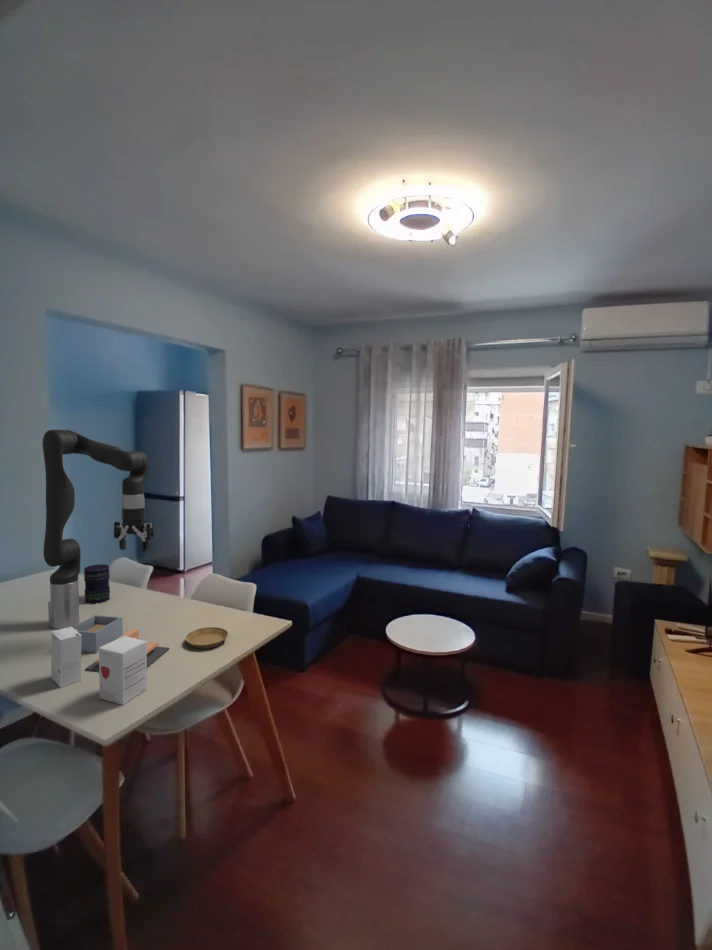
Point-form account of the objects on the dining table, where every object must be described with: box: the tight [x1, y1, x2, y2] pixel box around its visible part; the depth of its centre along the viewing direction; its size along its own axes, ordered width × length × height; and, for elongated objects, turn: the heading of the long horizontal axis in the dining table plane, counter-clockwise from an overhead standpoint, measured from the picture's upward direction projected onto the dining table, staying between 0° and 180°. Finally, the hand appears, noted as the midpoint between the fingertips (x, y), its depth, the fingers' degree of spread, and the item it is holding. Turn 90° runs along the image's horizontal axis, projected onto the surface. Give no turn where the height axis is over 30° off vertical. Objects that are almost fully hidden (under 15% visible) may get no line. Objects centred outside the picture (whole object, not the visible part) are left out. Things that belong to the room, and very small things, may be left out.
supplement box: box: [98, 636, 148, 706], centre depth 132 cm, size 9×9×15 cm
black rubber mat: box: [85, 646, 170, 672], centre depth 152 cm, size 18×18×1 cm
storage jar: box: [83, 563, 111, 605], centre depth 205 cm, size 10×10×15 cm
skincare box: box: [50, 626, 82, 688], centre depth 139 cm, size 8×6×15 cm
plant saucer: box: [184, 626, 229, 650], centre depth 167 cm, size 15×15×3 cm
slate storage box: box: [73, 614, 124, 654], centre depth 164 cm, size 14×11×7 cm
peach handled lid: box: [96, 628, 159, 663], centre depth 152 cm, size 15×12×8 cm
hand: (134, 550), depth 168 cm, fingers open, 8 cm apart
